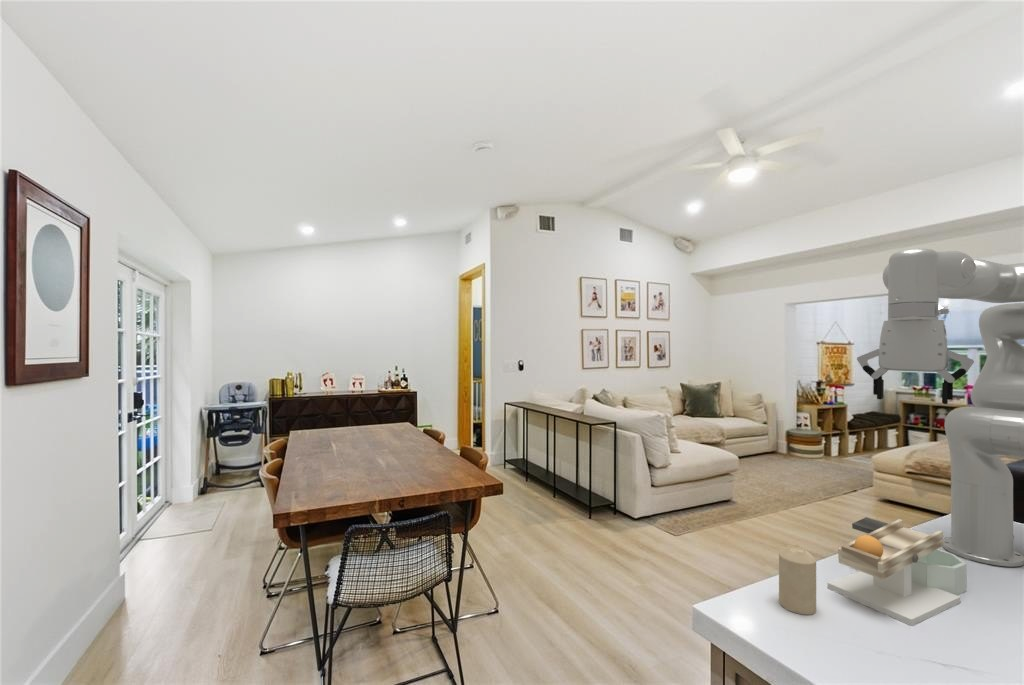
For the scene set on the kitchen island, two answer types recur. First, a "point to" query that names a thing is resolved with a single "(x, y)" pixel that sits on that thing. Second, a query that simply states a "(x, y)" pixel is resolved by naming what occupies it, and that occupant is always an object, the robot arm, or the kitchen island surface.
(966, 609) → the kitchen island surface
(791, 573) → the candle
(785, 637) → the kitchen island surface
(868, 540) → the ball
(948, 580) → the pale green bowl
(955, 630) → the kitchen island surface
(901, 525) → the lever
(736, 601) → the kitchen island surface
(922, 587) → the lever stand
